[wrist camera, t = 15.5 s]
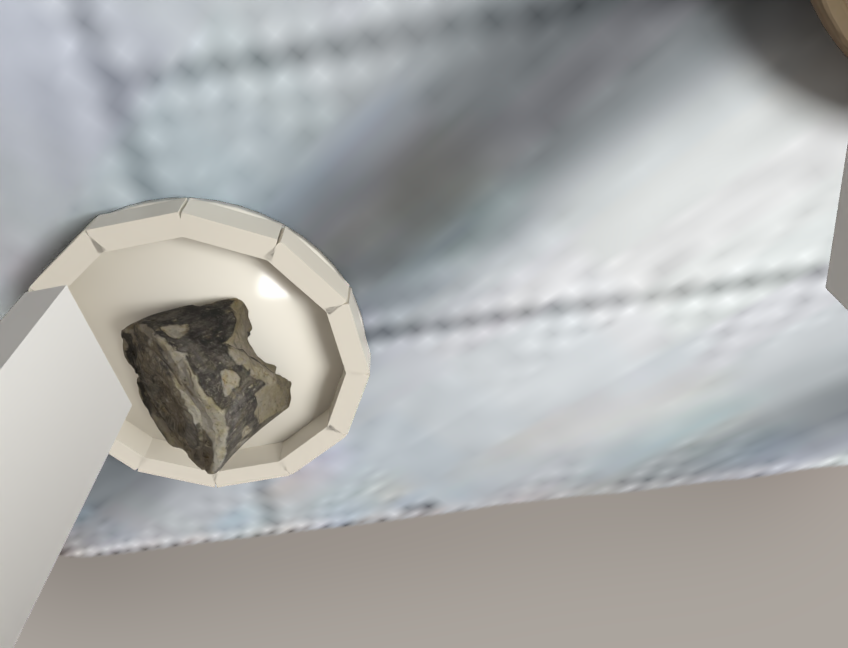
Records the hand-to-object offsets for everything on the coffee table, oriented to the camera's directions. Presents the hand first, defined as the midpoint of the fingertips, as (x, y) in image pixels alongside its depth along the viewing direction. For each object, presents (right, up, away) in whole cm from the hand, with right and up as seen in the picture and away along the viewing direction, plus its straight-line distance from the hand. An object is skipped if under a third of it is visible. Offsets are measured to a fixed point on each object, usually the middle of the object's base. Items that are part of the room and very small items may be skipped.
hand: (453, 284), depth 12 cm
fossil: (-15, -3, +35) cm, 38 cm away
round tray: (-15, -2, +35) cm, 38 cm away
